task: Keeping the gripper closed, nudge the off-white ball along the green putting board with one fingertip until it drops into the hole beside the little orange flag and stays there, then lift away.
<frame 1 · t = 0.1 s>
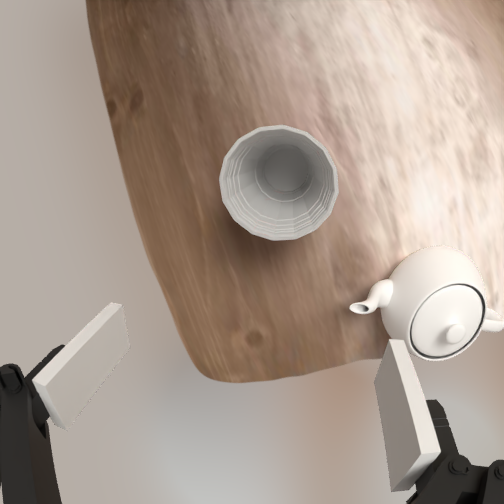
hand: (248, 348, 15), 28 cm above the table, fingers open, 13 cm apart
plastic cup: (285, 171, 39), on the table
teapot: (420, 287, 41), on the table
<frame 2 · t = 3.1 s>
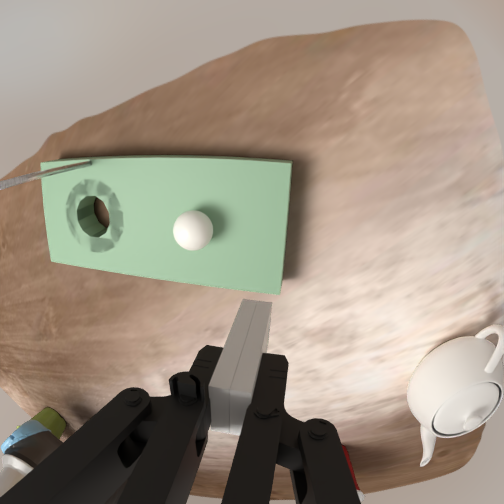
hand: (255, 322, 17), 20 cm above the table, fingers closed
plant pot: (55, 415, 62), on the table
putting board: (155, 212, 38), on the table
teapot: (446, 371, 39), on the table
flag: (89, 163, 33), resting on putting board
ball: (193, 230, 31), point 6 cm above the table, touching putting board
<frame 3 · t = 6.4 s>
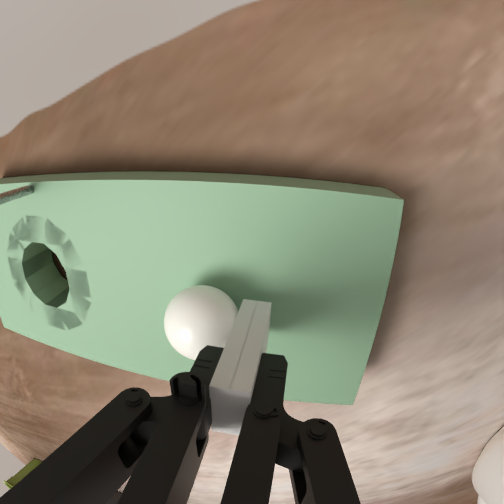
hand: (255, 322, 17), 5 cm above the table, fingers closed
plant pot: (46, 467, 47), on the table
putting board: (143, 267, 22), on the table
flag: (30, 189, 18), resting on putting board
ball: (202, 323, 16), point 6 cm above the table, tilted 17°, touching gripper, putting board
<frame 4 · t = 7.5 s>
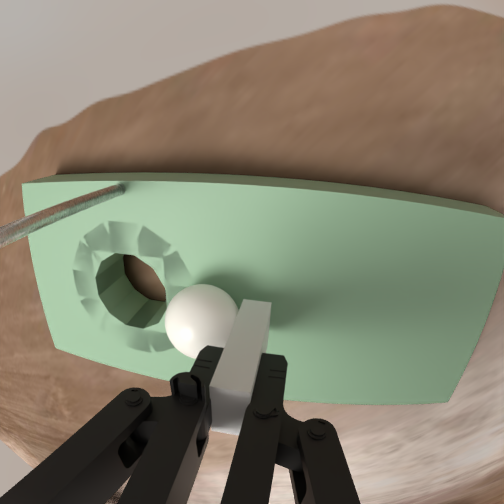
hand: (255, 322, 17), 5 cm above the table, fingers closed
putting board: (248, 280, 22), on the table
flag: (119, 189, 17), resting on putting board
ball: (202, 321, 16), point 6 cm above the table, tilted 169°, touching gripper, putting board
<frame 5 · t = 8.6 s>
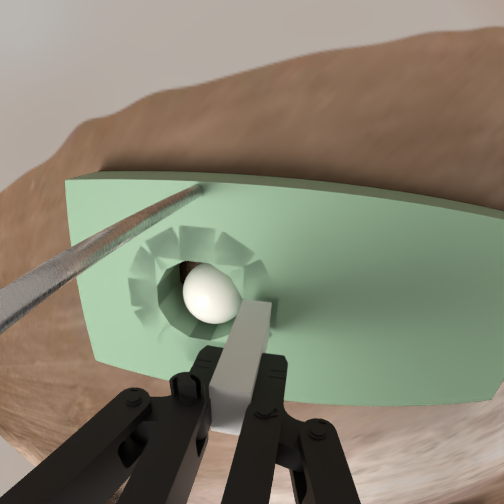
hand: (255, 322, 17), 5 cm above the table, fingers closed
putting board: (318, 287, 21), on the table
flag: (196, 191, 16), resting on putting board
ball: (214, 292, 20), point 2 cm above the table, tilted 25°
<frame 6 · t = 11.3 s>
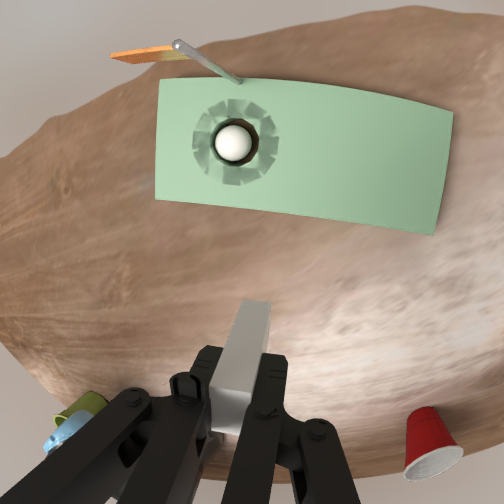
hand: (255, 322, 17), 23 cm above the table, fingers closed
plant pot: (99, 401, 60), on the table
plastic cup: (422, 415, 46), on the table
putting board: (302, 147, 34), on the table
flag: (238, 82, 29), resting on putting board
ball: (233, 143, 34), point 2 cm above the table, tilted 54°
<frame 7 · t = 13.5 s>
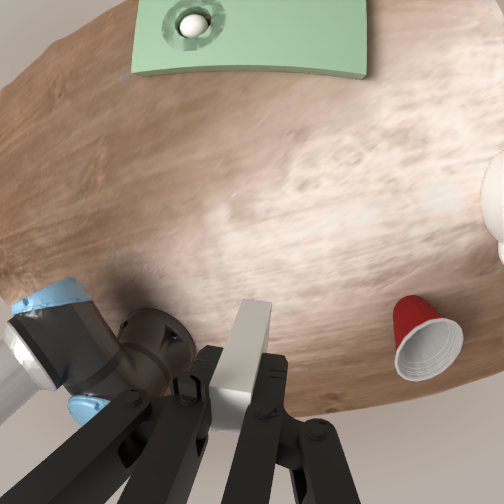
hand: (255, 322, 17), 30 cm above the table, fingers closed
plastic cup: (409, 309, 47), on the table
putting board: (248, 27, 37), on the table
ball: (193, 26, 36), point 2 cm above the table, tilted 53°
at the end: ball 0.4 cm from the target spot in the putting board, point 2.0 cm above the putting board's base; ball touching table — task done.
